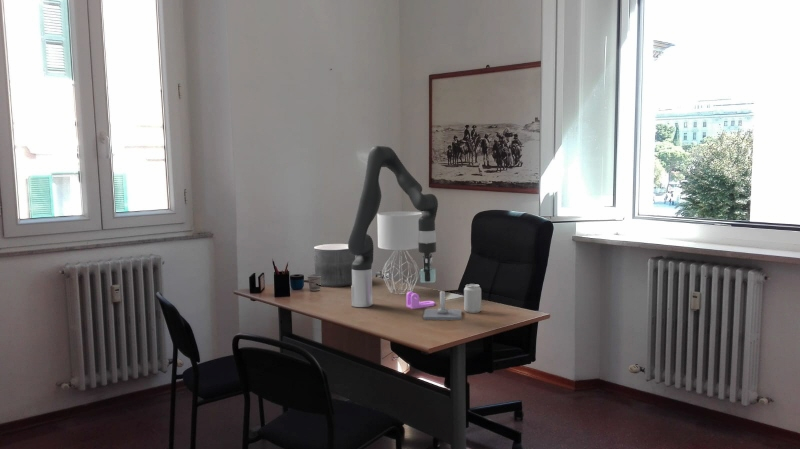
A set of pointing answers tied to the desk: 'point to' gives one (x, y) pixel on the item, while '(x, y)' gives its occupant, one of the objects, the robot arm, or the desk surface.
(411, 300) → the bracket
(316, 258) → the planter
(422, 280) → the collar
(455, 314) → the post block
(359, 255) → the robot arm
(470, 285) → the can
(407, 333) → the desk surface
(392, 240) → the table lamp
